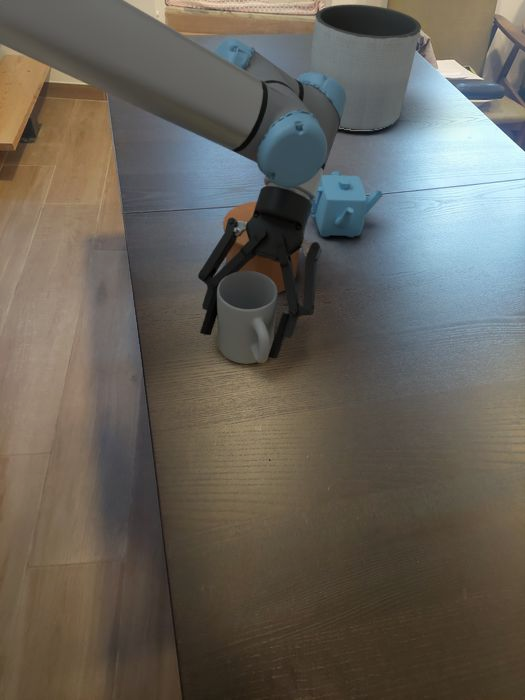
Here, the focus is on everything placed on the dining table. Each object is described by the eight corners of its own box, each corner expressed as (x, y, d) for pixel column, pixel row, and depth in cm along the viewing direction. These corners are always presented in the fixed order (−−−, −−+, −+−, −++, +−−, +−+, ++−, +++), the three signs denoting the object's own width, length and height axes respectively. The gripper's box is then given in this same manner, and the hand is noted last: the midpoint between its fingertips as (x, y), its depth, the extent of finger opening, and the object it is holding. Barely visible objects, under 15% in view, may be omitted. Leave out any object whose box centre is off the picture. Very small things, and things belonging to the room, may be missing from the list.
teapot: (300, 201, 107) (306, 155, 99) (366, 203, 107) (377, 157, 100) (309, 254, 95) (316, 207, 87) (383, 256, 95) (397, 209, 88)
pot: (225, 294, 86) (225, 249, 79) (226, 249, 94) (226, 204, 87) (298, 296, 87) (305, 250, 80) (292, 251, 95) (298, 206, 88)
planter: (305, 90, 145) (315, -1, 129) (394, 99, 145) (415, 8, 128) (302, 130, 128) (313, 31, 112) (402, 140, 128) (429, 42, 111)
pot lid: (222, 254, 79) (222, 231, 76) (223, 206, 88) (223, 184, 85) (308, 256, 80) (311, 234, 77) (300, 208, 89) (303, 186, 86)
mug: (210, 330, 80) (208, 276, 72) (261, 318, 82) (265, 265, 74) (235, 388, 72) (236, 335, 64) (290, 373, 75) (298, 320, 67)
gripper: (366, 222, 72) (316, 370, 74) (223, 182, 77) (179, 322, 79) (364, 207, 65) (308, 373, 66) (206, 165, 70) (158, 320, 71)
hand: (238, 345), depth 73 cm, fingers closed on mug, 10 cm apart
